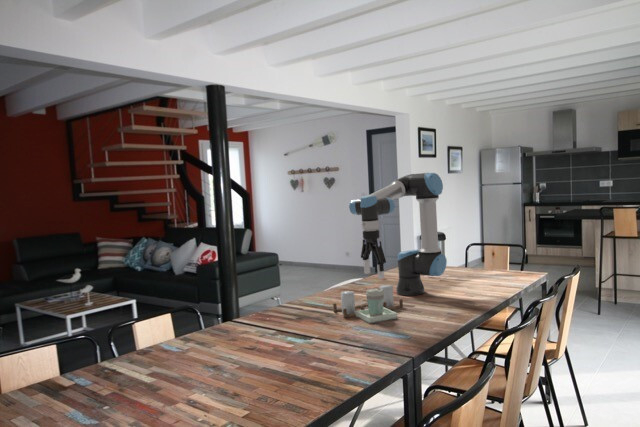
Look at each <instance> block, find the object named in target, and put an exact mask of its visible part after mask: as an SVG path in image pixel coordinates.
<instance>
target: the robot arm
mask: <svg viewBox="0 0 640 427" xmlns="http://www.w3.org/2000/svg"><path fill="white" fill-rule="evenodd" d="M443 189H444V185H443V180H442V178H441V177H440V176H439V174H437V173H436V172H423V173H422V172H421V173H411V174H406V175H404V176H401V177H400V178H398V179H395V180H393V181H392V182H391V183H390V184H389V185H387V186H384V187H383V188H381V189H379V190H377V191H374V192H373V193H370V194H369V195H365V196H361V197H360V198H359V199H358V198H355V199H352V200H351V201H350V202H349V205H348V208H349V211H350V213H351V214H352V215H357V216H361V227H362V228H361V229H362V230H363V231H362V238H363V239H362V247H361V252H360V259H362V261H363V270H364V271H363V272H364V275H370V274H371V266H370V265H371V263H370V255H371V252H372V253H373V255H374V257H375V259H376V262H377V263H376V265H377V266H376V269H377V278H378V280H381V279H385V268H384V265H385V264H386V263H387V259H386V257H385V253H384V249H383V247H382V242H381V241H378V239H380V230H379V228H380V226H379V216H383V215H389V214H391V213H393V212H394V210H395V205H396V204H395V201H394V200H395V199H401V198H403V197H412V196H413V197H415V199H416V201H417V202H418V205H419V206H418V207H419V222H420V240H421V241H420V242H421V243H420V244H421V248H420V249H411V250H405V251H400V252H398V254H397V265H398V267H397V270H398V282H397V285H396V294H397V295H399V296H418V295H422V294H424V293H425V287H424V284H423V281H422V278H421V276H429V277H441V276H442V275H443V274H444V272H445V271H446V269H447V258H446V255H445V254H443V253H442V249H441V248H440V247H439V237H438V233H439V232H438V216H437V215H438V214H437V201H438V199H439V197H440V195H441V194H442V193H443Z"/></svg>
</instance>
